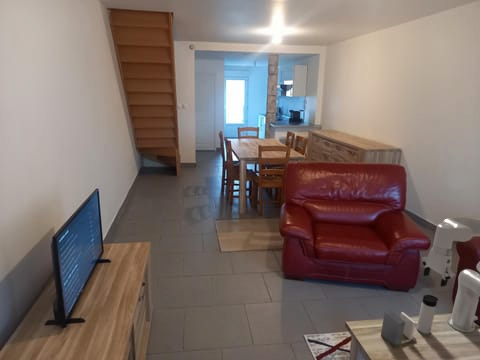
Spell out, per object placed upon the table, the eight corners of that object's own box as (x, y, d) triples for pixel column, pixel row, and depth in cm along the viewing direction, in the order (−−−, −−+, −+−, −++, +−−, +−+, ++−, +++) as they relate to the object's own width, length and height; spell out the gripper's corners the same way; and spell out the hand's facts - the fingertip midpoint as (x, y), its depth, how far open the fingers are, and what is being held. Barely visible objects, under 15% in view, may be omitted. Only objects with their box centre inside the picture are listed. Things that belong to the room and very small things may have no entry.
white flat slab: (399, 328, 178) (402, 312, 175) (413, 340, 170) (417, 323, 167) (397, 329, 177) (400, 312, 174) (411, 341, 169) (415, 324, 166)
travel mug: (432, 336, 175) (440, 302, 170) (418, 333, 176) (425, 300, 171) (428, 327, 181) (435, 294, 175) (415, 325, 182) (421, 292, 177)
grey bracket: (401, 329, 179) (406, 306, 175) (416, 341, 171) (421, 317, 167) (380, 335, 174) (384, 312, 170) (394, 348, 166) (398, 323, 162)
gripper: (463, 256, 159) (455, 289, 164) (431, 240, 174) (425, 270, 179) (452, 259, 156) (444, 291, 161) (420, 242, 172) (414, 272, 177)
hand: (434, 280), depth 170 cm, fingers open, 9 cm apart
